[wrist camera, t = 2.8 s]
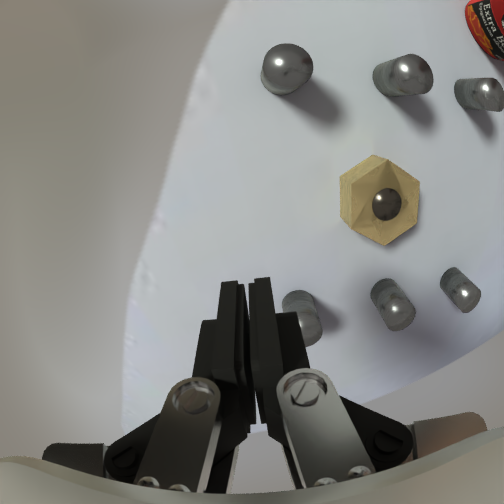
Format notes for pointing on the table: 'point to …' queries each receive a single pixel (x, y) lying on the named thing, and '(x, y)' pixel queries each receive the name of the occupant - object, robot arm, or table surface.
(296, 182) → the table surface
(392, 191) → the brass nut
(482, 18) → the canned food
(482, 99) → the posts
